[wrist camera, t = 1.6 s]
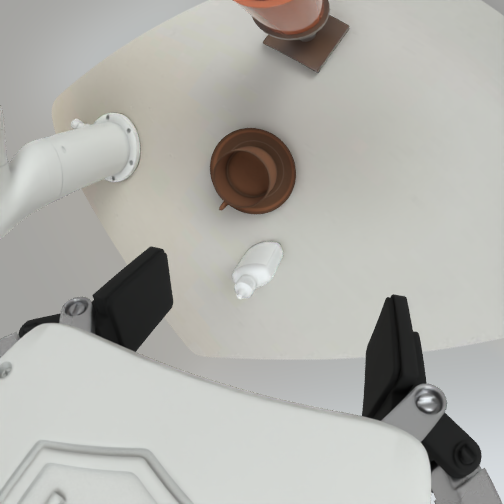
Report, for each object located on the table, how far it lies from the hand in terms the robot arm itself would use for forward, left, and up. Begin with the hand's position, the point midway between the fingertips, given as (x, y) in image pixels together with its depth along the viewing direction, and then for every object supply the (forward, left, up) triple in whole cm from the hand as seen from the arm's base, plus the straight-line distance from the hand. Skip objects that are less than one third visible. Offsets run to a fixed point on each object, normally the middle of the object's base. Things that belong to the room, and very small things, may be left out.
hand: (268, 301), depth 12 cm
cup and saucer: (-7, -6, -30) cm, 31 cm away
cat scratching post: (-11, +14, -30) cm, 34 cm away
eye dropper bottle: (+1, -16, -30) cm, 34 cm away
